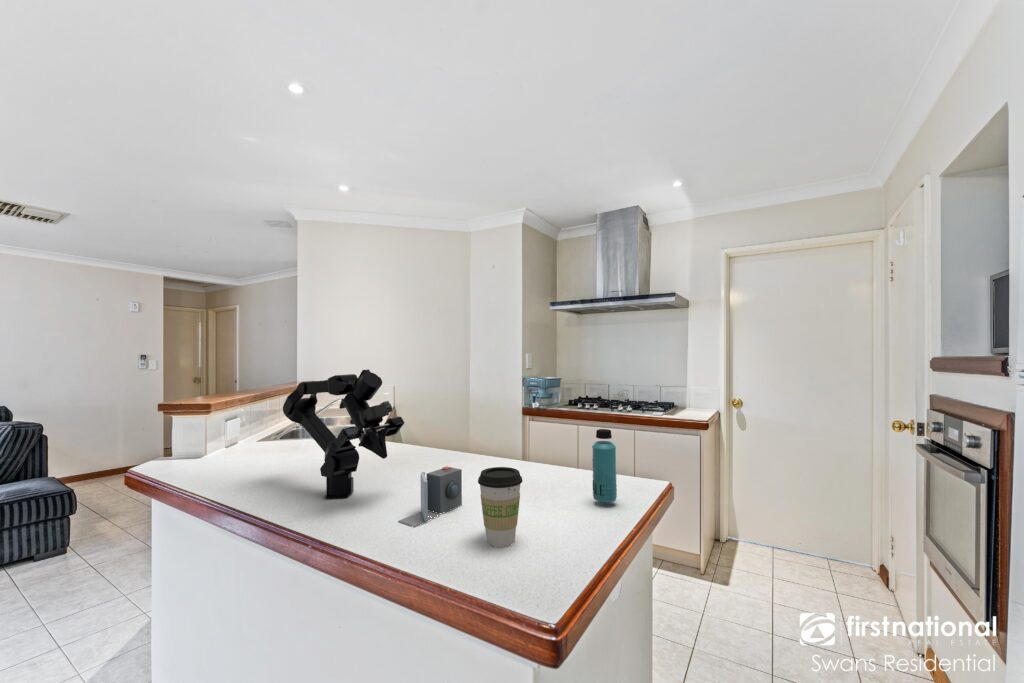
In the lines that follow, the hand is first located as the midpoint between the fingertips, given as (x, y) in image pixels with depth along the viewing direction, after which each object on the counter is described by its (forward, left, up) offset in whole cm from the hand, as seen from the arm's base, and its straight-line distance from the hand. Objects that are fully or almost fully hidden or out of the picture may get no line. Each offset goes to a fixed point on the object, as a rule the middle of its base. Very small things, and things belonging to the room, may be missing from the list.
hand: (385, 457), depth 118 cm
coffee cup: (+29, -22, -14) cm, 39 cm away
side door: (+11, -7, -13) cm, 18 cm away
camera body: (+13, -5, -14) cm, 19 cm away
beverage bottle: (+58, -2, -14) cm, 60 cm away
